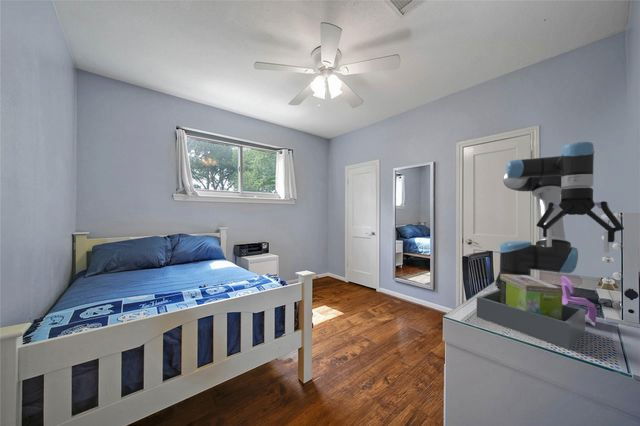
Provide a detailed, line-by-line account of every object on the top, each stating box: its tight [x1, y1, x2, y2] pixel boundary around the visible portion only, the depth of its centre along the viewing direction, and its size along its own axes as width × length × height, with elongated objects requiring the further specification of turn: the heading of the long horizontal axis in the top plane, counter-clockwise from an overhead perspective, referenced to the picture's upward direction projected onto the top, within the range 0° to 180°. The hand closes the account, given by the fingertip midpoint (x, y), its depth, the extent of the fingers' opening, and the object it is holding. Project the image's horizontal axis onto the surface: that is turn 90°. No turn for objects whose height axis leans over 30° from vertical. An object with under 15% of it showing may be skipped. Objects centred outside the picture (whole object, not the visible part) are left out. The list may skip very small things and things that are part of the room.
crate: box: [476, 288, 586, 350], centre depth 78 cm, size 18×23×7 cm
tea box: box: [500, 274, 563, 320], centre depth 78 cm, size 15×10×15 cm
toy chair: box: [560, 275, 598, 323], centre depth 82 cm, size 8×9×15 cm
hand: (575, 249), depth 81 cm, fingers open, 13 cm apart
